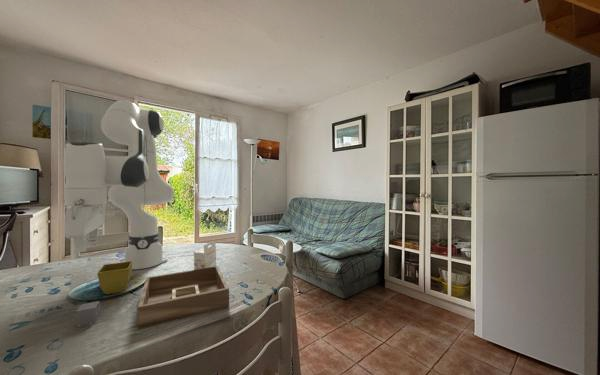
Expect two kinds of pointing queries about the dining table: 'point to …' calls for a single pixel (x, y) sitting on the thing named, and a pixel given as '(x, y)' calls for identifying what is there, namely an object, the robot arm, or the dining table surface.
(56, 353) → the dining table surface
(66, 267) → the dining table surface
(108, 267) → the flower pot
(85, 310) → the plain grey cube
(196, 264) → the ink cartridge box
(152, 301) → the walled box
